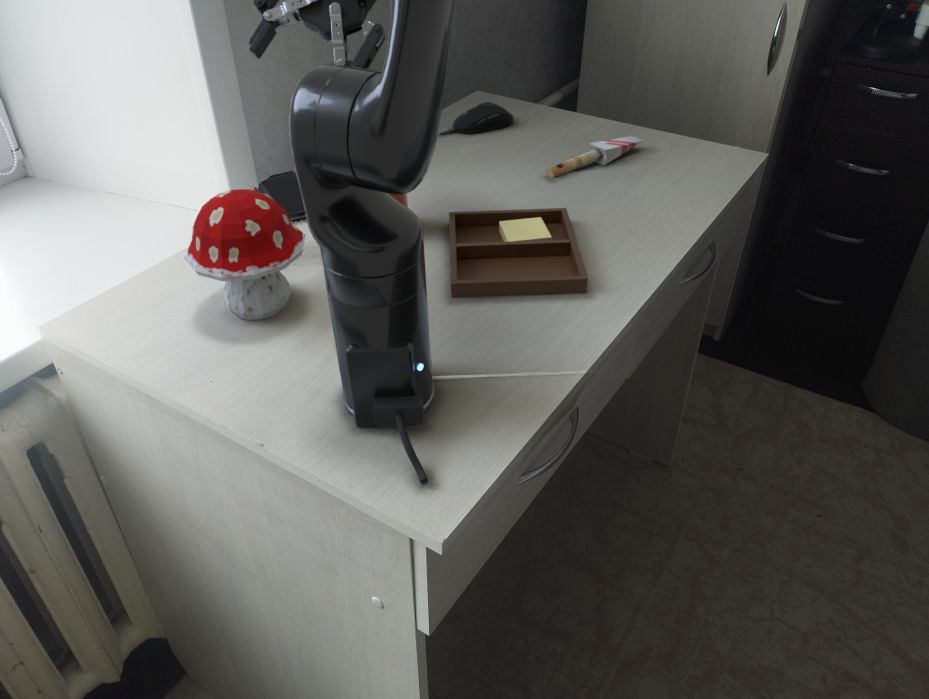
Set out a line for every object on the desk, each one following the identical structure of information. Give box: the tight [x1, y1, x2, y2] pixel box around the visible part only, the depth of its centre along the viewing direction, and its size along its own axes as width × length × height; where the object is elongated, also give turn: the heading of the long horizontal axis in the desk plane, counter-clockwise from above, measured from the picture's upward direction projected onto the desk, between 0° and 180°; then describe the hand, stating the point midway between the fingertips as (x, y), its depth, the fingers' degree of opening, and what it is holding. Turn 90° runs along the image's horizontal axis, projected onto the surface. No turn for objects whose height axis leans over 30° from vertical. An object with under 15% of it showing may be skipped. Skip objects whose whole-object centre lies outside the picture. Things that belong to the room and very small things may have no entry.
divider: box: [456, 239, 570, 259], centre depth 99 cm, size 1×15×2 cm, turn 91°
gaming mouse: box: [439, 101, 514, 136], centre depth 138 cm, size 6×15×4 cm, turn 118°
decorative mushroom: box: [184, 188, 306, 321], centre depth 88 cm, size 14×14×15 cm
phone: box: [253, 170, 306, 222], centre depth 116 cm, size 8×1×15 cm
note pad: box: [499, 217, 552, 242], centre depth 103 cm, size 6×6×2 cm
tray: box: [448, 207, 588, 299], centre depth 99 cm, size 19×17×2 cm
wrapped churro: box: [546, 135, 645, 178], centre depth 124 cm, size 4×3×20 cm
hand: (285, 75), depth 85 cm, fingers open, 8 cm apart
